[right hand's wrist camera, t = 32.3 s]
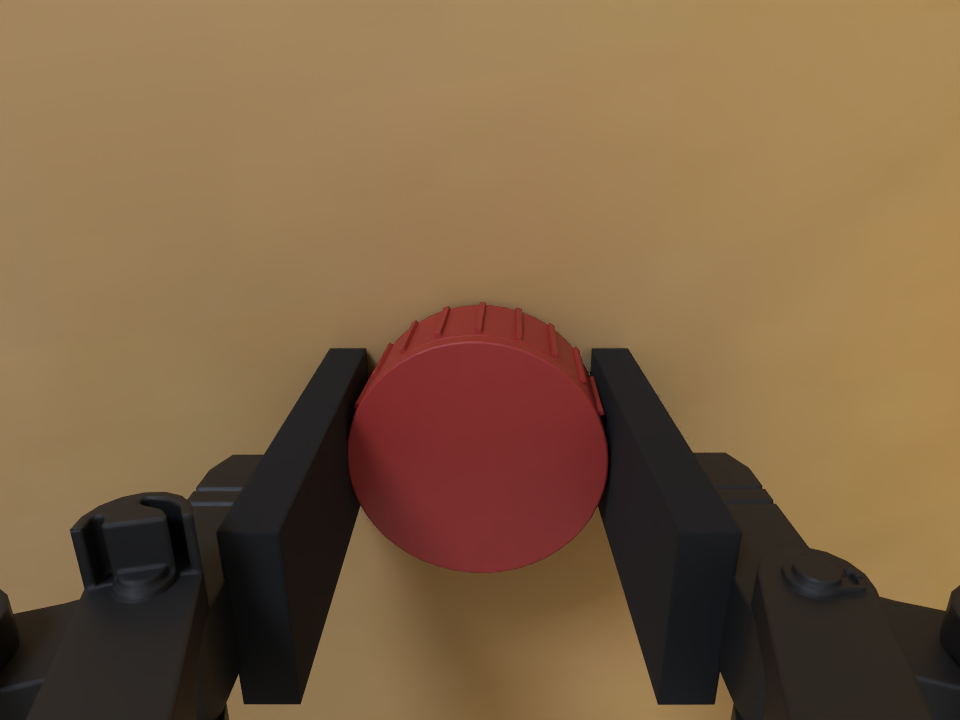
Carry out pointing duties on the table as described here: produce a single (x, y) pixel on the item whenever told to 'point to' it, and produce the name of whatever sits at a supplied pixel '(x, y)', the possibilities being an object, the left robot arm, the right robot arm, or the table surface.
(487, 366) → the lid
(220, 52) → the table surface
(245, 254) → the table surface
